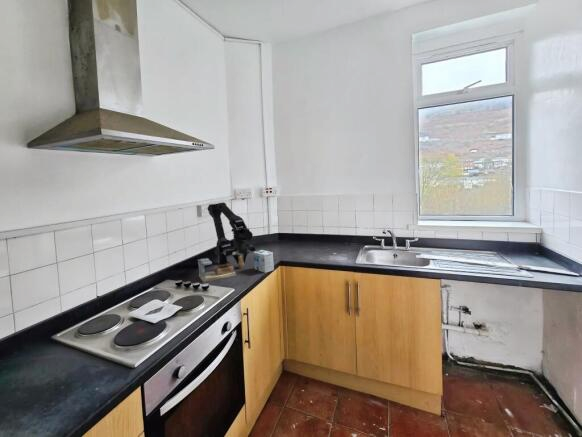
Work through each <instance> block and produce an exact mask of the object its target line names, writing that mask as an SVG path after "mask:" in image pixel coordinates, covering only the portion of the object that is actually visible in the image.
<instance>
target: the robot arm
mask: <svg viewBox="0 0 582 437" xmlns="http://www.w3.org/2000/svg"><path fill="white" fill-rule="evenodd" d="M207 211H208V214H209V216H210V217H211V218H212V219H213V224H214V228H215V233H216V237H217V241H216V243H215V244H216V247H215V250H214V255H215V256H218V257H217V258H218V261H217V263H218V265H224V264H230V261H229V260H228V259H229V258H228V256H232V257H233V258H234V260H235V263H236V265H238V258H237V255H238V253H239V255H240V254H243V259H244V264H245V263H246V259H247V256H248V254H250V252H256V251H257V249H256V246H255V245H253V244H250V243H245V241H246V242H249V241H251V240H252V239H253V236H254V235H253V232H252V231H251V230H250V228H248V226H247V224H246V222H245V221H244V219H243V218H242V217H241V216H239V215H237V214H235V213H234V212H233V211H232V209H230V208H229V207H228V205H227V204H226V202H218V203H210V204H208V206H207ZM222 214H223V215H224V217H226V219H227V220H228V221H229V225H230V227H231V228H232V229H231V230H230V231H231V232H232V233H233V234H232V235H233V245H234V249H231V246H232V245H231V242H230V239H227V237H226V234H225V230H224V229H225V228H224V226H223V221H222V217H221V216H222Z"/></svg>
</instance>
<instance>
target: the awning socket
mask: <svg viewBox="0 0 582 437" xmlns="http://www.w3.org/2000/svg"><path fill="white" fill-rule="evenodd" d="M197 264H198V276H199V278H200V280H201V281H202V283H207V282H212V281H216V280H221V279H225V278H230V277H235V276H237V272H236V271H235V267H234V266H233V265H232V264H231V263H225V264H218V265H215V266H213V270H212V271H205V270H206V269H205V266H209V265H212V264H213V262H212V261H211V260H210V259H209V257H205V258H200V259H197Z"/></svg>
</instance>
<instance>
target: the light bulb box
mask: <svg viewBox="0 0 582 437" xmlns="http://www.w3.org/2000/svg"><path fill="white" fill-rule="evenodd" d="M252 252H253V265H254V270H256V271H259V272H262V273H265V274H266V273H269V272H272V271H274V270H275V266H274V252H273V251H269V250H264V249H260V250H256V251H252Z"/></svg>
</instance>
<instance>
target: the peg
mask: <svg viewBox="0 0 582 437" xmlns="http://www.w3.org/2000/svg"><path fill="white" fill-rule="evenodd" d="M237 258H238V264H237V268H238V269H239V270H241V269H242V270H243V269H245V263H244V259H243V254H240V253H239V254H237Z"/></svg>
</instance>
